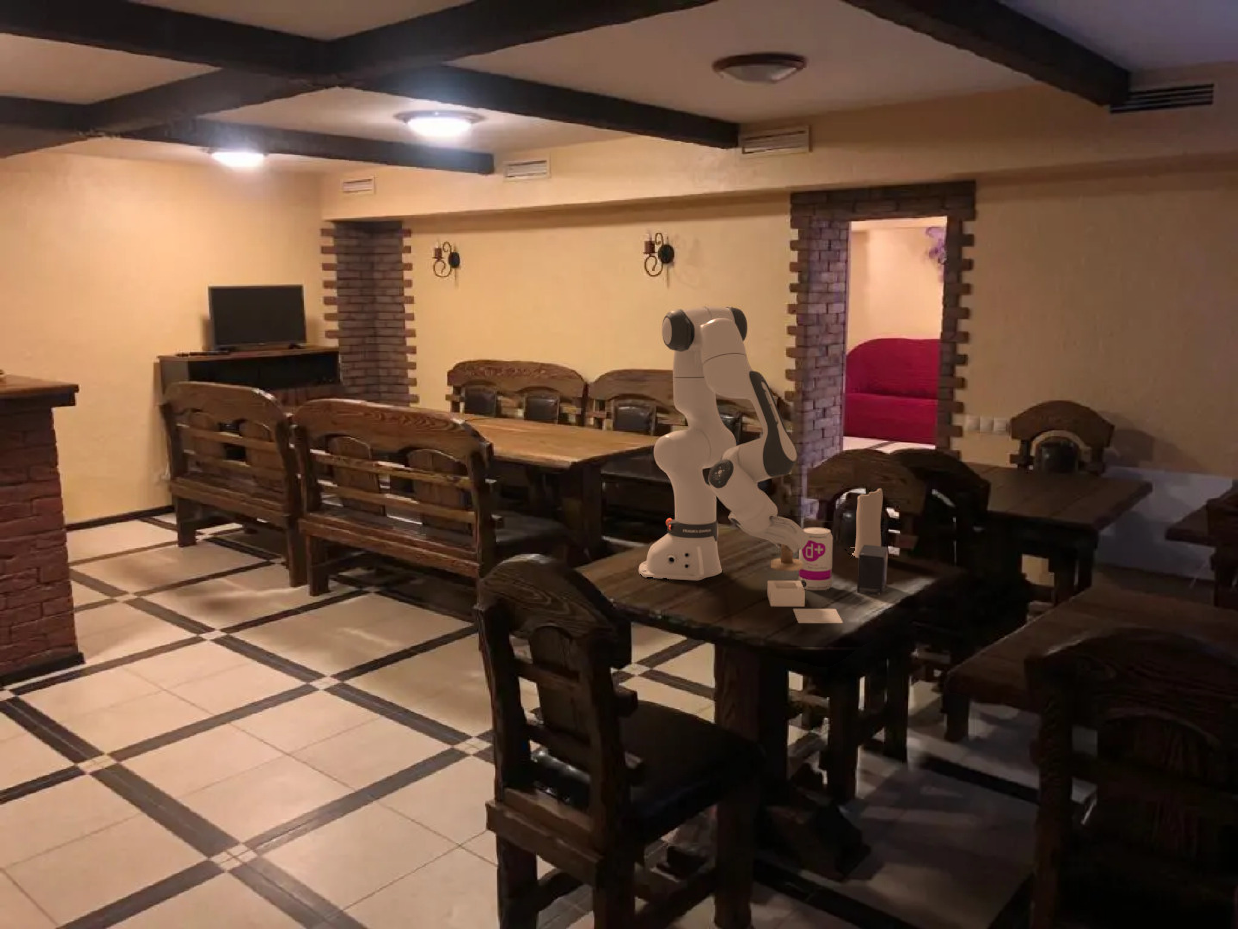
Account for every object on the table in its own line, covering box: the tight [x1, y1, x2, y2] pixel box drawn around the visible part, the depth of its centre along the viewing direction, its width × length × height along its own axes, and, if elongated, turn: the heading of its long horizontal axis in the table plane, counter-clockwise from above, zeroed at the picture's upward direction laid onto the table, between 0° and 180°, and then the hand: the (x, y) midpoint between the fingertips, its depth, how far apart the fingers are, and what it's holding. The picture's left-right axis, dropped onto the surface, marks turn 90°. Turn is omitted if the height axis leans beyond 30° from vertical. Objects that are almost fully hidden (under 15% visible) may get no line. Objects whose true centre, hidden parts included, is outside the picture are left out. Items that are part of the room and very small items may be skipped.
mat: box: [792, 608, 844, 624], centre depth 229 cm, size 10×10×1 cm
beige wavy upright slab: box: [851, 487, 884, 559], centre depth 283 cm, size 7×14×20 cm, turn 19°
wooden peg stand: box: [770, 544, 803, 572], centre depth 238 cm, size 8×8×8 cm
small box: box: [856, 545, 889, 595], centre depth 249 cm, size 11×6×10 cm, turn 160°
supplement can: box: [798, 526, 834, 591], centre depth 252 cm, size 8×8×15 cm
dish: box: [767, 580, 806, 607], centre depth 240 cm, size 8×8×4 cm
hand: (789, 548), depth 238 cm, fingers closed on wooden peg stand, 3 cm apart
